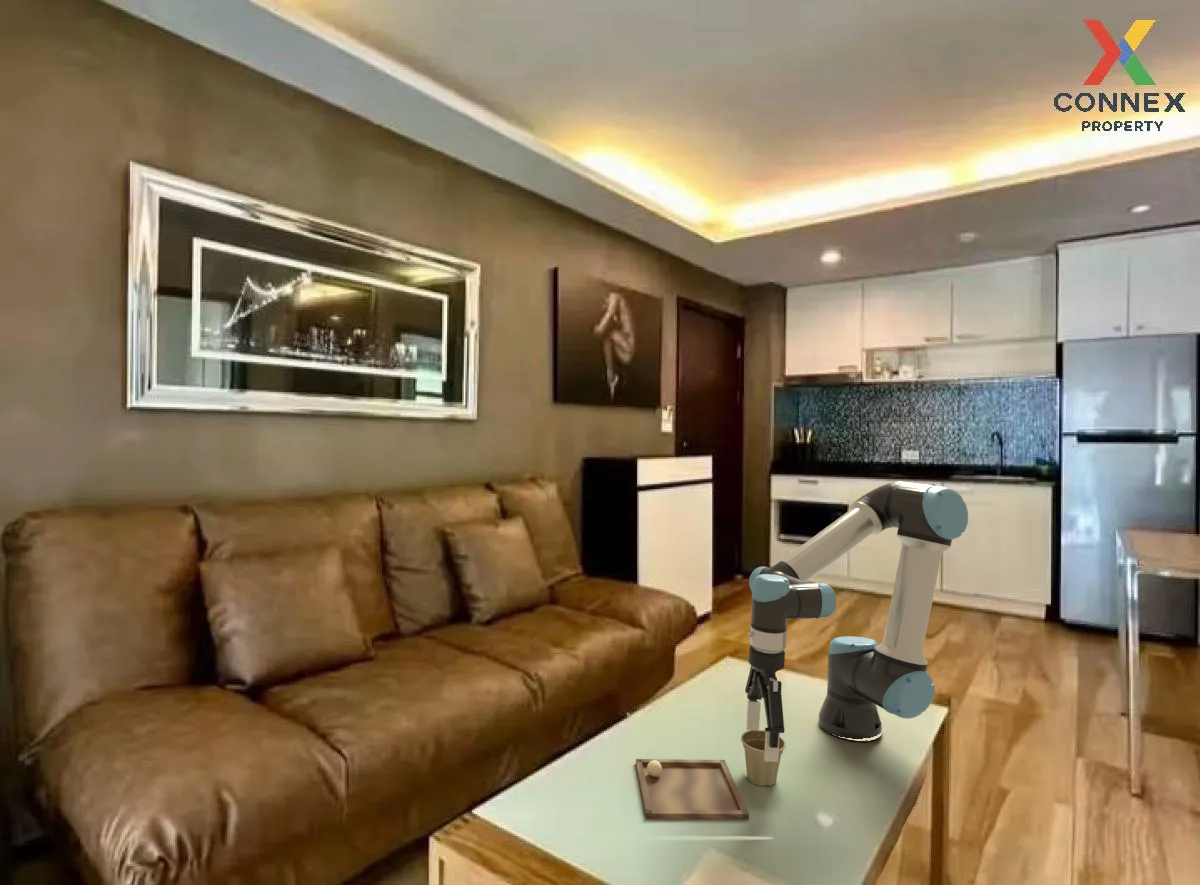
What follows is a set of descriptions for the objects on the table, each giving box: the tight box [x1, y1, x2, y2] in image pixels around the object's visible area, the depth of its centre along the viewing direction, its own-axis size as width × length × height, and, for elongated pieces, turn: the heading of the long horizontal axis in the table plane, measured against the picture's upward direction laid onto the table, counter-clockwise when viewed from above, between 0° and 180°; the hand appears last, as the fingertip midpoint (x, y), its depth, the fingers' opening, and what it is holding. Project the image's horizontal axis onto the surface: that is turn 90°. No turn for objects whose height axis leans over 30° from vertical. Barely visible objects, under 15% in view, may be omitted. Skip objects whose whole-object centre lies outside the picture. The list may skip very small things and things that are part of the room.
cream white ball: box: [647, 760, 662, 777], centre depth 140 cm, size 3×3×3 cm
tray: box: [635, 758, 750, 820], centre depth 136 cm, size 20×20×2 cm
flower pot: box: [740, 729, 787, 787], centre depth 141 cm, size 9×9×9 cm
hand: (761, 744), depth 141 cm, fingers open, 13 cm apart
